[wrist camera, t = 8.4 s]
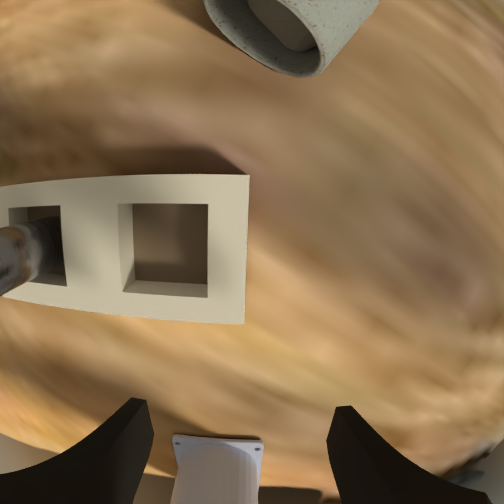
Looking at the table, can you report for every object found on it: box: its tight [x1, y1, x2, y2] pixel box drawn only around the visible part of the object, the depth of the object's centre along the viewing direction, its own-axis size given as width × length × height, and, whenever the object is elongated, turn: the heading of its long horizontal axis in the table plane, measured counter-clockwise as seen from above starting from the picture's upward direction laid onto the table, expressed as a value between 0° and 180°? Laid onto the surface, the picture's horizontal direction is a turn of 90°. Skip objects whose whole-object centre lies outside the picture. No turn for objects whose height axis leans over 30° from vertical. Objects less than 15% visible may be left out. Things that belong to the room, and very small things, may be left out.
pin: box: [0, 216, 64, 296], centre depth 13 cm, size 4×4×8 cm
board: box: [0, 174, 250, 324], centre depth 17 cm, size 8×18×3 cm, turn 88°
